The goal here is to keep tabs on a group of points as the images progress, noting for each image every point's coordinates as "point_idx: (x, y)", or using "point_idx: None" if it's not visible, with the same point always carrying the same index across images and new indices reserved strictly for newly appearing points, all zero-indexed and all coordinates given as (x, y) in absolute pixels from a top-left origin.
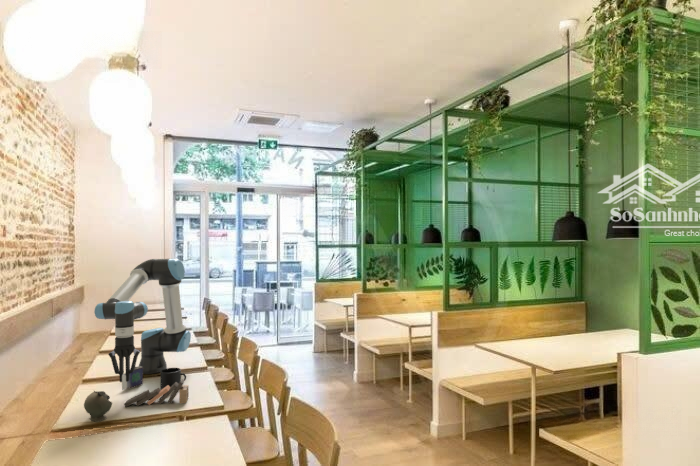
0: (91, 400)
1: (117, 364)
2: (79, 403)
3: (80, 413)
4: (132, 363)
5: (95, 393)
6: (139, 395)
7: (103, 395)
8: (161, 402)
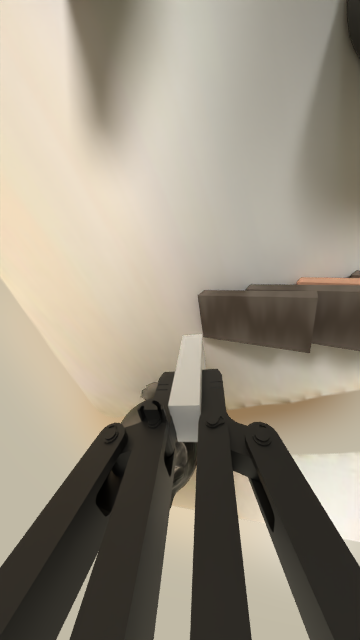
0: None
1: (64, 541)
2: (13, 271)
3: (91, 359)
4: (318, 638)
5: None
6: (265, 328)
7: (175, 488)
8: None
